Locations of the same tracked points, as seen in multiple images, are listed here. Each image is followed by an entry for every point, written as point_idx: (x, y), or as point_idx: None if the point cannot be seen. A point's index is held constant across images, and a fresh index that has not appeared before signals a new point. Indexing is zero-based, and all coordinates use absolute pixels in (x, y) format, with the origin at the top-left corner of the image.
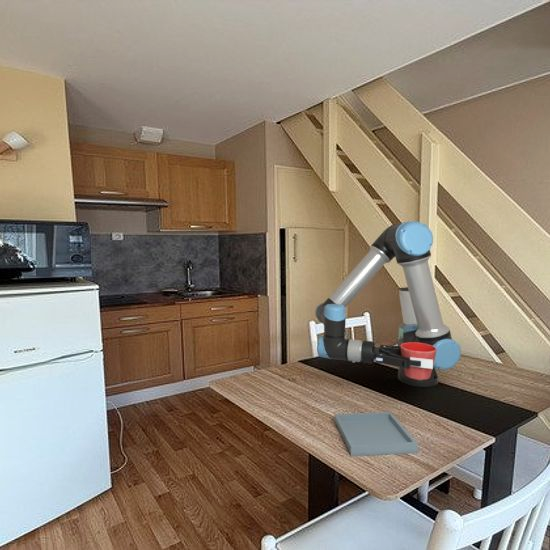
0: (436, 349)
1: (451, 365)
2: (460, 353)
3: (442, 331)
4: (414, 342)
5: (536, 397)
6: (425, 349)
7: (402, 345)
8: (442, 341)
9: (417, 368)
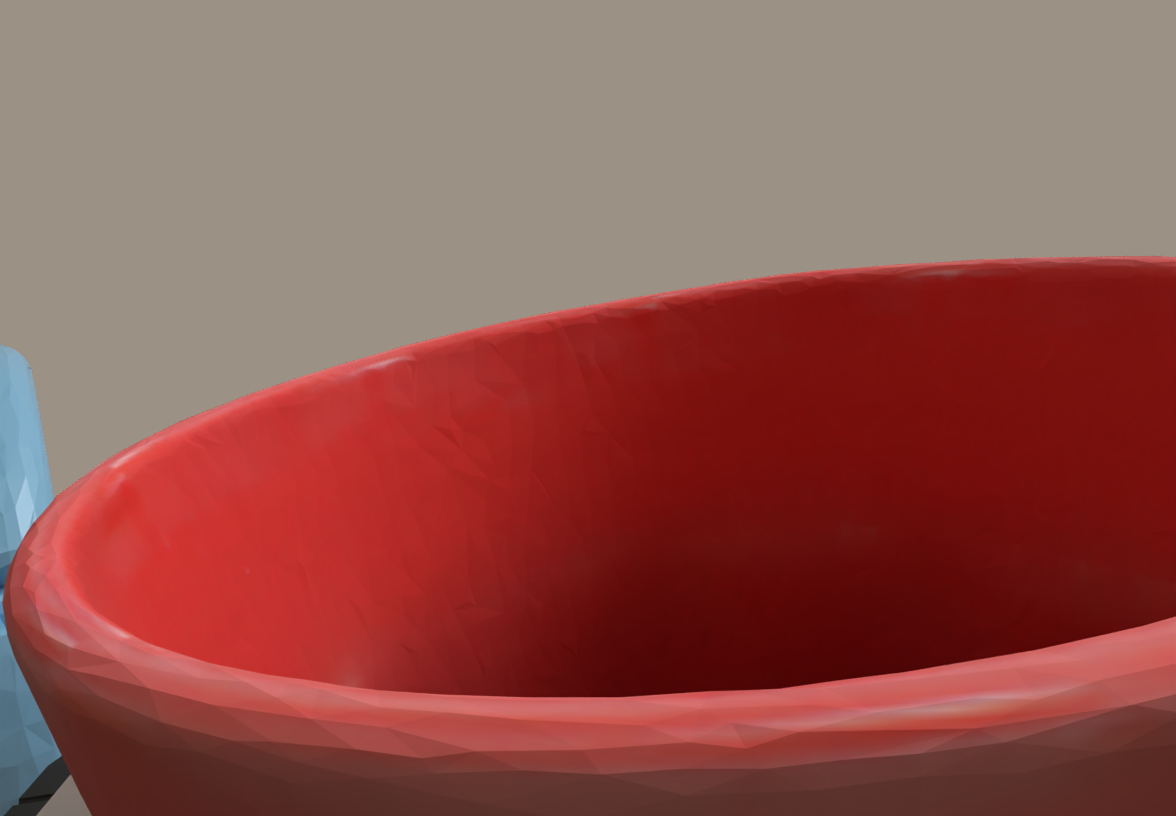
0: (707, 289)
1: None
2: None
3: None
4: (74, 501)
5: None
6: (339, 543)
7: (612, 746)
8: (9, 381)
9: None
